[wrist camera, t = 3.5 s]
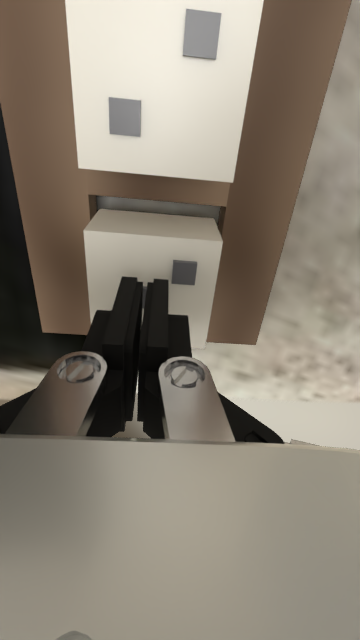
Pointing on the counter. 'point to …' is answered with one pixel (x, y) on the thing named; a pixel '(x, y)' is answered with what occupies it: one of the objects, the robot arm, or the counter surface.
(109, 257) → the white square block
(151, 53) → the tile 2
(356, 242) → the counter surface
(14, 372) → the counter surface
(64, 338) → the counter surface
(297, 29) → the keypad board
